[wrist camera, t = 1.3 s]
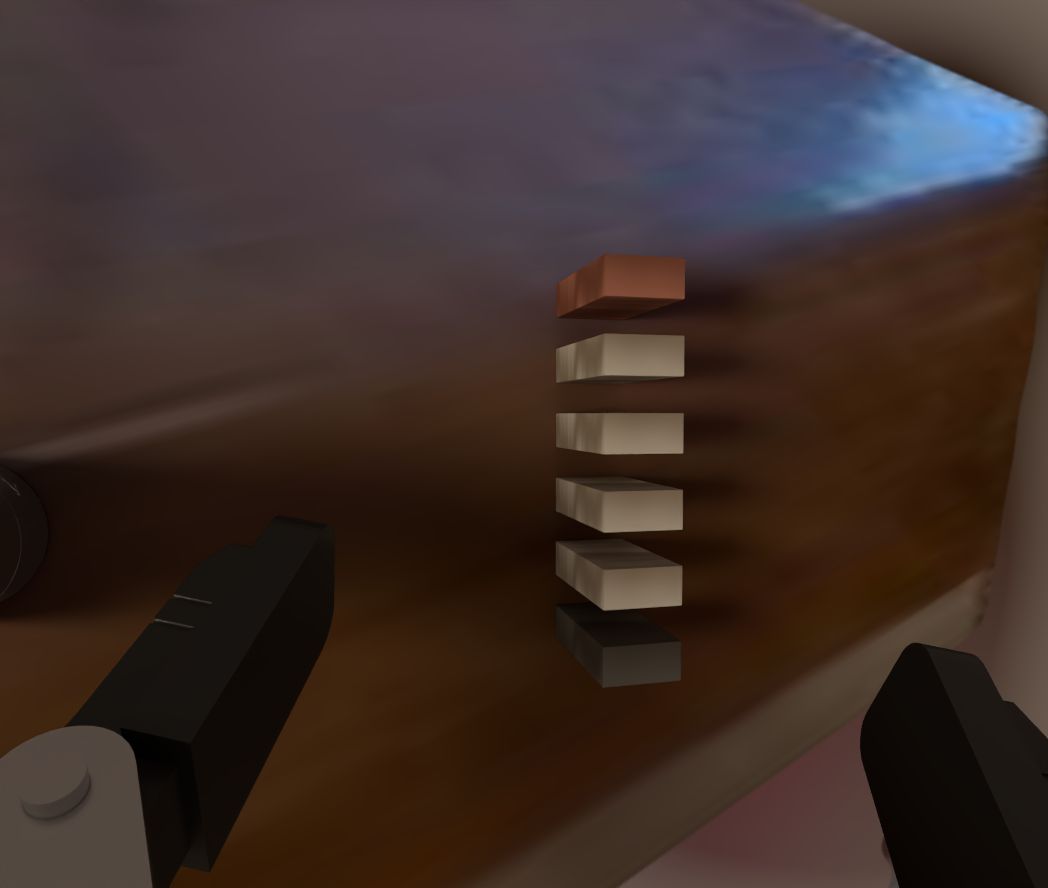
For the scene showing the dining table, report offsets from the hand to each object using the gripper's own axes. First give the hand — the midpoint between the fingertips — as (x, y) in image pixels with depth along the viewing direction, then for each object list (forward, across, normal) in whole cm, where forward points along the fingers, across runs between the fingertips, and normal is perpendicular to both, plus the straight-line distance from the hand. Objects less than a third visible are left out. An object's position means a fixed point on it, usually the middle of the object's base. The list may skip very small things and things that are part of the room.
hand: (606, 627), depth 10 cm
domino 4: (+37, +2, -22) cm, 43 cm away
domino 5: (+34, +3, -26) cm, 43 cm away
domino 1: (+43, -1, -10) cm, 44 cm away
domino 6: (+32, +4, -30) cm, 44 cm away
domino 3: (+39, +1, -18) cm, 43 cm away
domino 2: (+41, 0, -14) cm, 43 cm away
